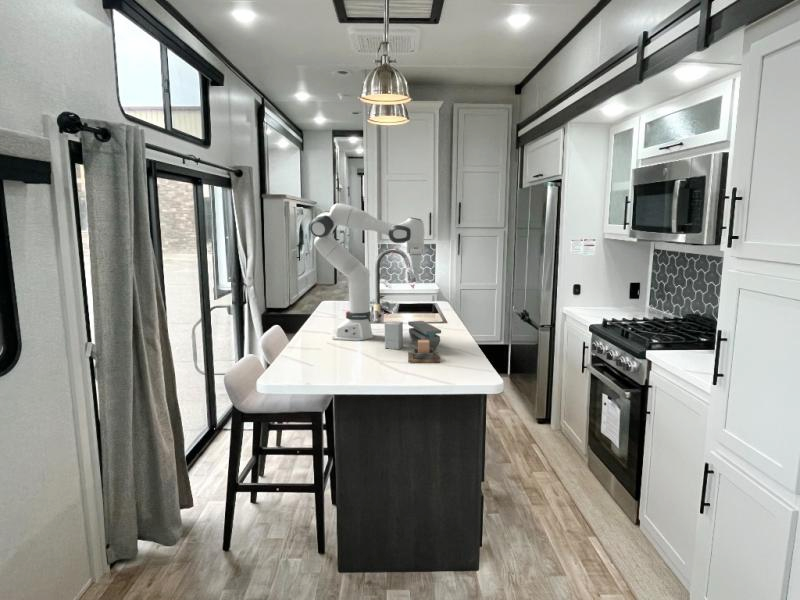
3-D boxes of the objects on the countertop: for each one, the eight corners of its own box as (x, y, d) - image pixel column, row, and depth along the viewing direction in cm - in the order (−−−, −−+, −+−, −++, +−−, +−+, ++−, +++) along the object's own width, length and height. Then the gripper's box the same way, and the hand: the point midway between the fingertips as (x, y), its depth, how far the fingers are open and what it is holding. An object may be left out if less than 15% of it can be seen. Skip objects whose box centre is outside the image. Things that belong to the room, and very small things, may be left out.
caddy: (408, 362, 219) (408, 354, 219) (408, 354, 233) (408, 347, 233) (439, 362, 219) (440, 354, 219) (437, 354, 233) (437, 347, 233)
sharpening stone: (440, 352, 238) (441, 330, 236) (425, 353, 235) (425, 331, 233) (422, 340, 261) (422, 320, 259) (408, 342, 259) (408, 321, 257)
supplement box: (403, 346, 249) (403, 321, 248) (398, 349, 243) (398, 324, 241) (389, 345, 252) (389, 320, 250) (384, 348, 245) (384, 323, 243)
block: (418, 357, 224) (418, 342, 223) (417, 354, 229) (417, 339, 228) (429, 357, 224) (429, 342, 223) (428, 354, 229) (428, 339, 228)
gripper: (409, 248, 263) (409, 274, 265) (409, 250, 243) (409, 278, 245) (421, 248, 263) (421, 274, 265) (422, 250, 243) (422, 278, 245)
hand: (415, 276), depth 255 cm, fingers open, 8 cm apart
